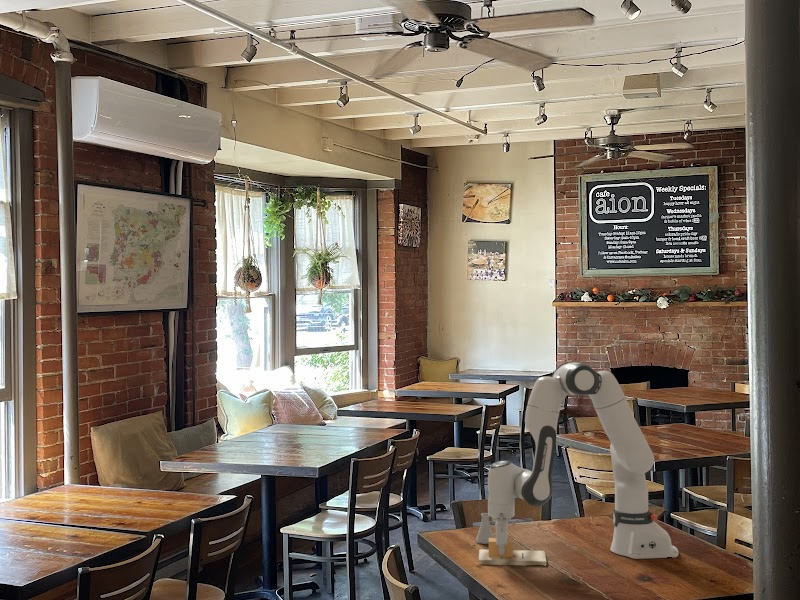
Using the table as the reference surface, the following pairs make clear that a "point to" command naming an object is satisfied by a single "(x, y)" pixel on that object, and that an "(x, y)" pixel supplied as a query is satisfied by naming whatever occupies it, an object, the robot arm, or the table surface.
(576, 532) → the table surface
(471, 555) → the table surface
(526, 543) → the table surface
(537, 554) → the birch board
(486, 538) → the flask
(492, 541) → the block
